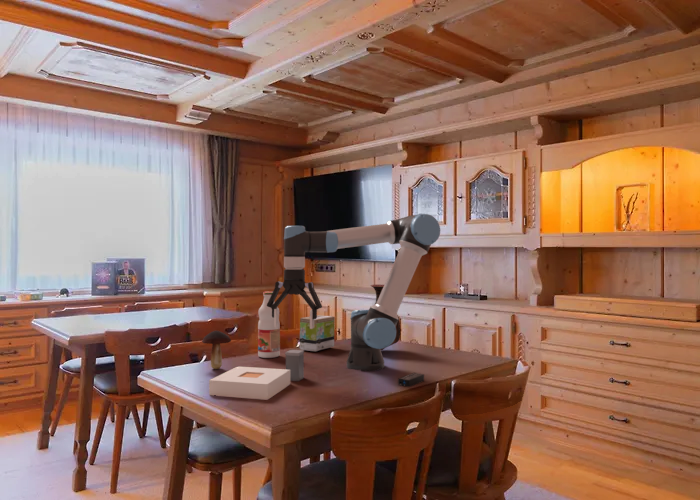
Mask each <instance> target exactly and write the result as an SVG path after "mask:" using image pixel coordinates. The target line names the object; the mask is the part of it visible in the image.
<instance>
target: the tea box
mask: <svg viewBox="0 0 700 500" xmlns="http://www.w3.org/2000/svg"><path fill="white" fill-rule="evenodd" d="M335 317H336V316H332V315H322V314H321V315H320V314H317V318H316V319H314V328H313V329H310V316H306V317H300V318H299V319H300V320H299V350H304V351H310V352H318V351H322V350H326V349H330V348H334V347H335V329H336V328H335V326H336V325H335V323H336V321H335V320H336V319H335Z"/></svg>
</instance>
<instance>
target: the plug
mask: <svg viewBox="0 0 700 500" xmlns="http://www.w3.org/2000/svg"><path fill="white" fill-rule="evenodd" d="M284 354H285V369H288V370H290V382H300V381H301V380H303V379H304V378H305V376H304V375H305V373H304V371H305V369H304V367H305V364H304V361H305V359H304V356H305V355H304V354H305V350H301V349H289V350H288V351H285V353H284Z"/></svg>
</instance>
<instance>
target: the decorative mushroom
mask: <svg viewBox="0 0 700 500" xmlns="http://www.w3.org/2000/svg"><path fill="white" fill-rule="evenodd" d="M231 341H232V339H231V338H230V336H229V335H227V334H226V333H225V332H222V331H220V330H213V331H211V332H209V333H207V334H206V335H205V336H204V337H203V339H202V341H201V343H203V344H209V345H212V346H211V352H210V366H211V368H212V369H213V370H219V369H220V368H221V367H222V366H223V357H222V356H223V355H222V354H223V353H222V348H221V344H228V343H231Z"/></svg>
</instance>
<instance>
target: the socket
mask: <svg viewBox="0 0 700 500" xmlns="http://www.w3.org/2000/svg"><path fill="white" fill-rule="evenodd" d="M247 373H248V374H263V375H261V376H259V377H257V378H251V377H241V376H243V375H245V374H247ZM208 382H209V383H208V384H209V389H208V391H209V392H208V393H209V394H208V395H209V396H214V395H216V396H217V397H228V398H240V399H241V398H242V399H252V400H262V401H264V400H266V401H268V400H269V399H271V398H273V396H275V395H277V394H278V393H280V392H281V391H283V390H284V389H286V388H287V387H288V386H290V385H291V381H290V370H288V369H286V368H285V369H284V368H269V367H252V366H236V367H234V368H231V369H229V370H227V371H226V372H223V373H221V374H219V375H217V376H215V377H213V378H211V379H209V381H208Z"/></svg>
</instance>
